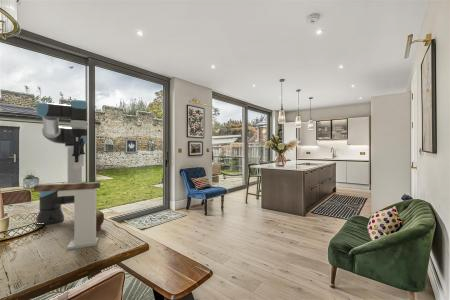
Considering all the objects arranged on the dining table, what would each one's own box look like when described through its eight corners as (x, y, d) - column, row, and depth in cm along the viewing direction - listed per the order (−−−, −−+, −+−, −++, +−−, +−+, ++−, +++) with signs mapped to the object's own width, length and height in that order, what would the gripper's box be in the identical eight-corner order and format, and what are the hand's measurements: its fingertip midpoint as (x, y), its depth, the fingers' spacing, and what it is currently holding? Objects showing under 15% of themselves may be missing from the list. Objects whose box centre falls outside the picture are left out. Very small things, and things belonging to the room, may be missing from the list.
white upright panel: (57, 251, 111) (57, 191, 111) (61, 244, 119) (61, 188, 118) (96, 245, 118) (96, 189, 117) (98, 239, 126) (98, 186, 125)
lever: (34, 191, 109) (34, 185, 109) (36, 190, 112) (36, 184, 112) (99, 188, 120) (99, 182, 120) (100, 187, 123) (100, 182, 123)
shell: (94, 234, 132) (94, 214, 132) (79, 232, 134) (79, 212, 134) (107, 227, 143) (108, 209, 143) (93, 226, 145) (93, 207, 145)
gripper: (83, 127, 113) (83, 169, 114) (89, 129, 135) (89, 164, 136) (66, 127, 110) (65, 170, 110) (74, 129, 132) (74, 164, 133)
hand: (78, 167), depth 123 cm, fingers open, 13 cm apart
